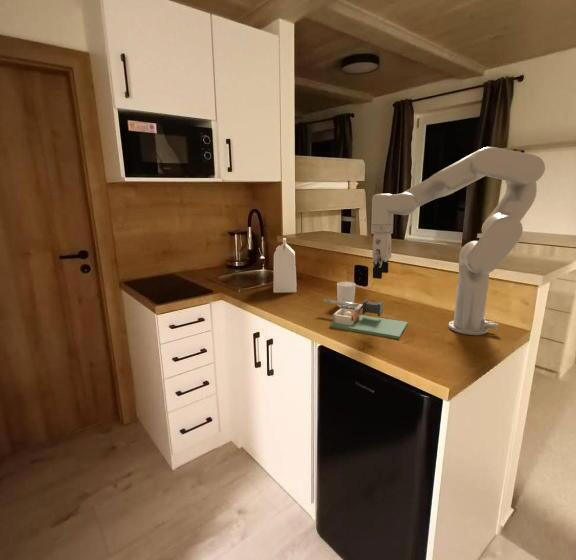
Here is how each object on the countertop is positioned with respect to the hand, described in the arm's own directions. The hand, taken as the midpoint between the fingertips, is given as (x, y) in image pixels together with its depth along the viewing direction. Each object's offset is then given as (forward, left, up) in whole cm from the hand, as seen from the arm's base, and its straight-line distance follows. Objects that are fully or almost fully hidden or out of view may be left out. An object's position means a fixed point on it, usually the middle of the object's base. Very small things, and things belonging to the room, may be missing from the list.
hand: (380, 275), depth 133 cm
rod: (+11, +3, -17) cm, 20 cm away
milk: (+55, -26, -19) cm, 63 cm away
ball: (+10, +6, -15) cm, 19 cm away
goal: (+11, +6, -18) cm, 22 cm away
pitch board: (+2, +6, -18) cm, 19 cm away
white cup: (+18, -13, -19) cm, 28 cm away
